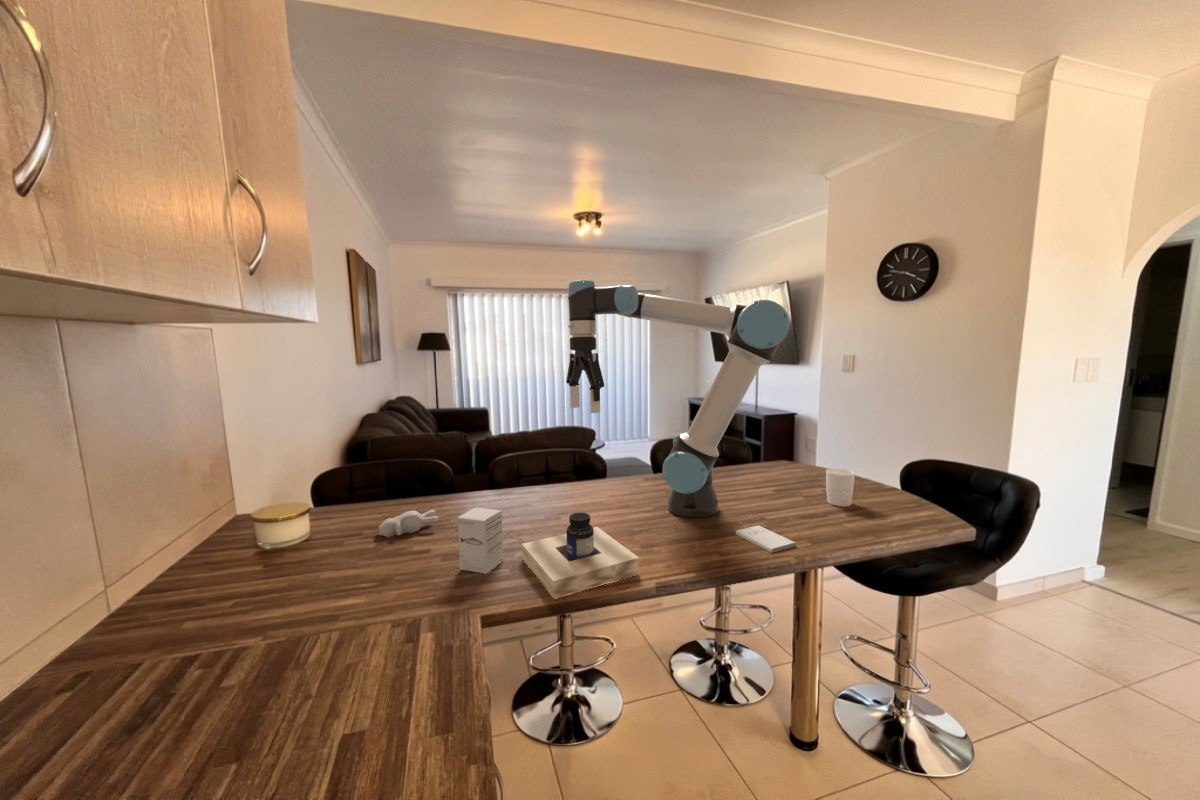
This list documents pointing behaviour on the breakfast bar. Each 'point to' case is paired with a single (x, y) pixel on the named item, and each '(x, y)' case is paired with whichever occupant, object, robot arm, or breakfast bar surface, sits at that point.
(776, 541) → the external hard drive
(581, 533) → the pill bottle
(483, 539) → the supplement box
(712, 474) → the robot arm
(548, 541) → the socket block
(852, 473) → the white cup
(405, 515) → the bunny figurine
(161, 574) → the breakfast bar surface
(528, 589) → the breakfast bar surface
